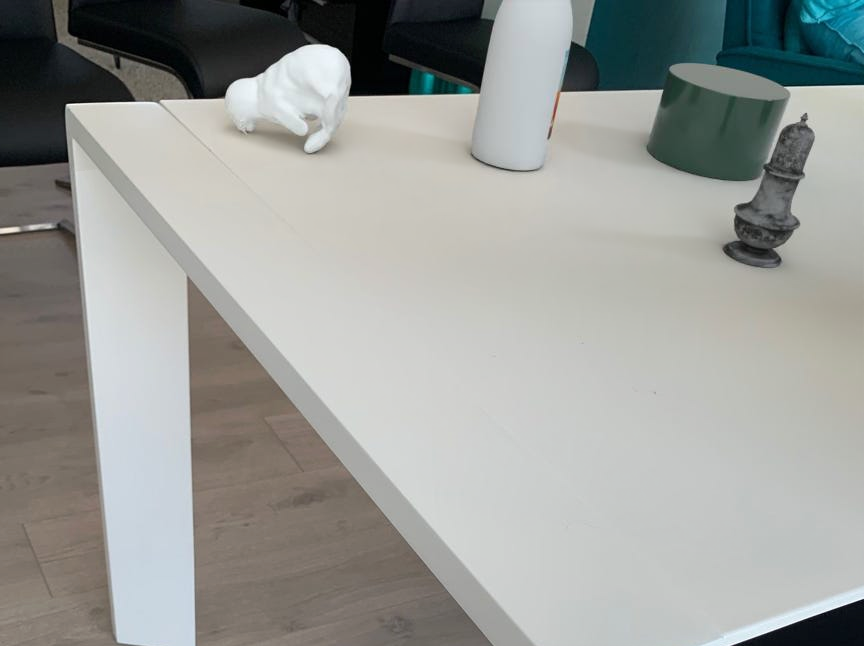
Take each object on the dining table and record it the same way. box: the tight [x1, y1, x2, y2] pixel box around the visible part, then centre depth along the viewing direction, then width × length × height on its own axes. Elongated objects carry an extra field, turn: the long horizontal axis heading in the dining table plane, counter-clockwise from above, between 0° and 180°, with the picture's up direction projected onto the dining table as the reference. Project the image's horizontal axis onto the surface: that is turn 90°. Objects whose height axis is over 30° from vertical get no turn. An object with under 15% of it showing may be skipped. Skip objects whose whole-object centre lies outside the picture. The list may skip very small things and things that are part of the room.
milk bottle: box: [470, 0, 574, 171], centre depth 97 cm, size 8×8×20 cm
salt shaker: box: [723, 112, 816, 268], centre depth 88 cm, size 6×6×12 cm
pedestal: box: [646, 62, 791, 181], centre depth 111 cm, size 13×13×8 cm
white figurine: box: [224, 43, 352, 154], centre depth 96 cm, size 6×8×12 cm
